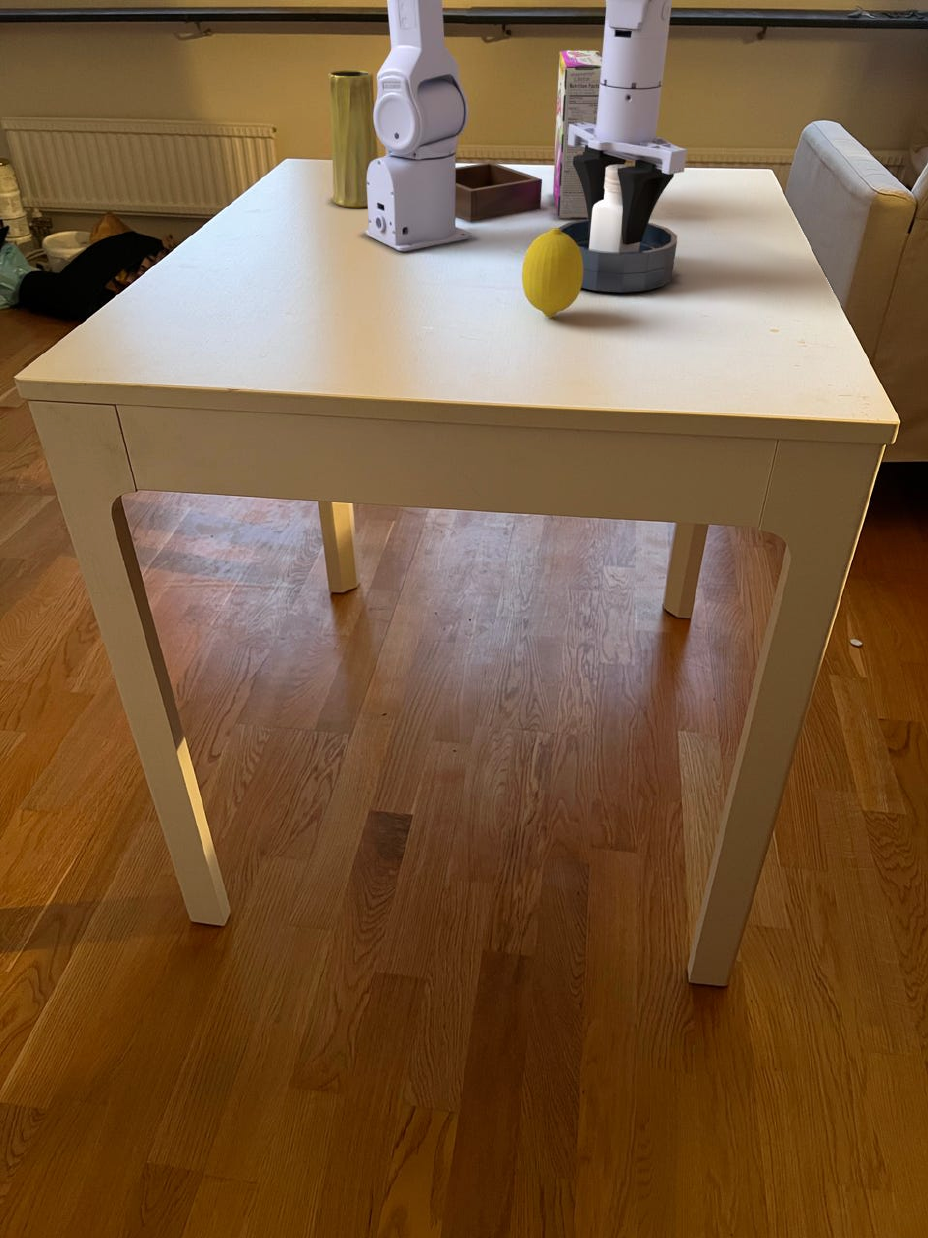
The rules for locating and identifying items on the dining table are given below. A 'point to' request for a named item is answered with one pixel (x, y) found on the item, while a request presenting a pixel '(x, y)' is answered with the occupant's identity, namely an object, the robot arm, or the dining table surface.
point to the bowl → (625, 260)
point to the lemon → (552, 272)
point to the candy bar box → (573, 107)
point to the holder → (494, 192)
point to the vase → (352, 135)
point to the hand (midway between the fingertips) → (615, 235)
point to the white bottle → (610, 216)
